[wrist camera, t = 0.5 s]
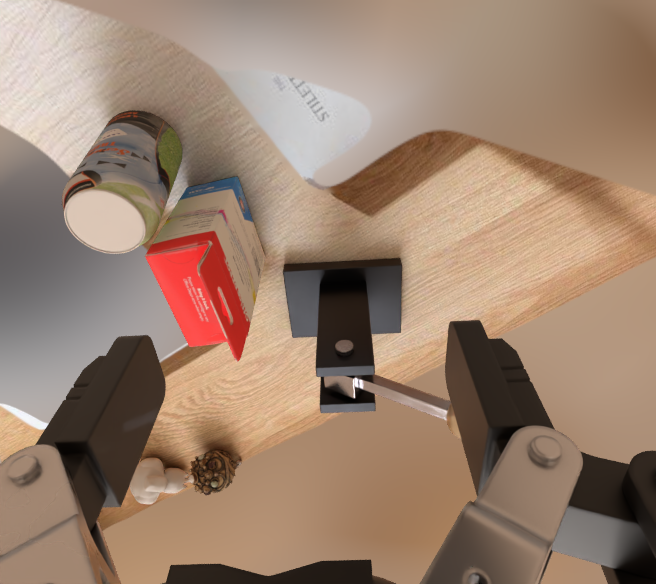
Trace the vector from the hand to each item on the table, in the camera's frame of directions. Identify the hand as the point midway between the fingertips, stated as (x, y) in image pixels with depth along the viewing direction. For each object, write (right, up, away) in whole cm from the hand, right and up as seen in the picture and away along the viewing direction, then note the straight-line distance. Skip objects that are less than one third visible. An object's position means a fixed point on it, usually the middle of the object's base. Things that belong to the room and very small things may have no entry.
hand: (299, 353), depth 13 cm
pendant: (-15, -22, +48) cm, 55 cm away
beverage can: (-14, +13, +27) cm, 33 cm away
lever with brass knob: (+7, -5, +25) cm, 26 cm away
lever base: (+2, +1, +35) cm, 35 cm away
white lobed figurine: (-24, -22, +47) cm, 57 cm away
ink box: (-8, +8, +31) cm, 33 cm away
